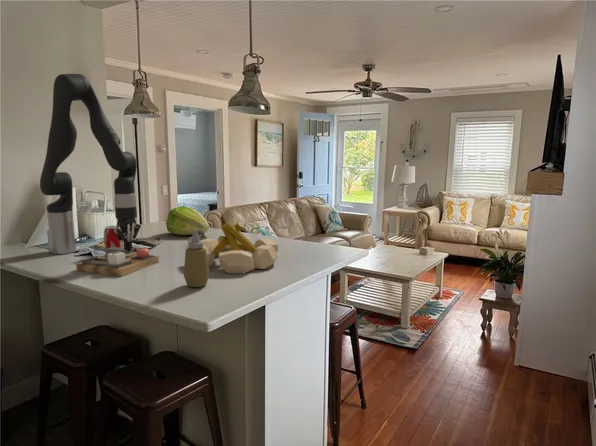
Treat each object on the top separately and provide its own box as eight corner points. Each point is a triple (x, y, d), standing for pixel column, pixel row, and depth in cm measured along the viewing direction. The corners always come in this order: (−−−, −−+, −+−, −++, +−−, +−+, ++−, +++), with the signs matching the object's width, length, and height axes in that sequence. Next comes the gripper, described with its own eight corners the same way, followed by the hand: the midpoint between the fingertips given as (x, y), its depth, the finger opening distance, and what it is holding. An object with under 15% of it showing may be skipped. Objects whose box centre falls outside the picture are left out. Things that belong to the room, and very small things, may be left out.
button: (134, 257, 159) (133, 250, 159) (142, 254, 163) (141, 247, 163) (143, 258, 158) (143, 251, 157) (151, 256, 162) (151, 248, 161)
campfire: (171, 268, 156) (169, 223, 154) (218, 249, 188) (218, 211, 185) (256, 279, 145) (256, 230, 142) (292, 256, 176) (292, 216, 173)
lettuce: (191, 242, 203) (196, 213, 201) (158, 230, 215) (163, 203, 214) (216, 241, 217) (221, 214, 216) (183, 230, 230) (188, 204, 228)
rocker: (105, 252, 163) (105, 248, 162) (112, 250, 166) (112, 246, 166) (126, 254, 159) (126, 250, 159) (133, 252, 163) (133, 248, 163)
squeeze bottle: (186, 281, 140) (184, 228, 137) (211, 281, 141) (209, 228, 138) (181, 289, 132) (179, 233, 129) (208, 289, 133) (206, 233, 130)
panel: (76, 270, 151) (75, 260, 151) (117, 257, 170) (116, 248, 169) (121, 276, 145) (121, 266, 144) (158, 262, 164) (158, 253, 163)
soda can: (117, 258, 169) (115, 228, 167) (101, 257, 170) (99, 227, 168) (127, 254, 175) (125, 225, 173) (112, 253, 177) (110, 224, 175)
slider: (108, 265, 149) (107, 252, 148) (116, 262, 152) (115, 250, 152) (117, 266, 147) (116, 253, 147) (125, 263, 151) (124, 251, 150)
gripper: (120, 208, 151) (124, 255, 153) (145, 204, 163) (148, 248, 166) (104, 207, 153) (107, 253, 156) (129, 203, 165) (132, 246, 168)
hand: (128, 250), depth 161 cm, fingers closed
